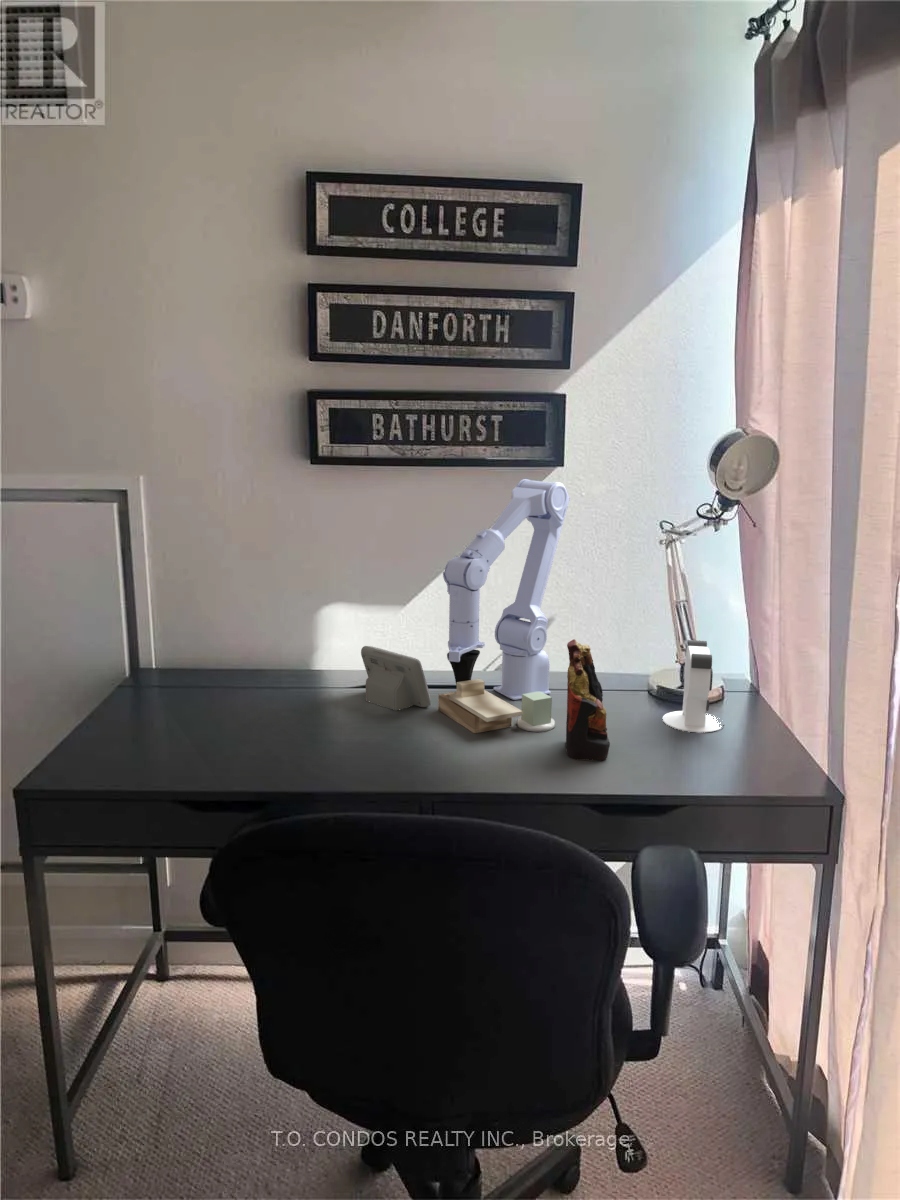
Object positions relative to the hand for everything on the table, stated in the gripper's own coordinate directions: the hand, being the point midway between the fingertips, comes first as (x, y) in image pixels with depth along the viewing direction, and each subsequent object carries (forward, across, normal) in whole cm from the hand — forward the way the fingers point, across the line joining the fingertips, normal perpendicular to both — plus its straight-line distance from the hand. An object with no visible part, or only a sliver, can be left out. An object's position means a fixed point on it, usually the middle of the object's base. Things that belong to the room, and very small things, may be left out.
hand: (463, 687), depth 175 cm
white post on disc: (+5, +7, -44) cm, 44 cm away
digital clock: (+5, +2, +14) cm, 15 cm away
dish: (+5, -3, -15) cm, 16 cm away
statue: (+5, -12, -26) cm, 29 cm away
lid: (+1, -6, -6) cm, 8 cm away
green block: (+4, -3, -15) cm, 16 cm away
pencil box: (+5, -3, -3) cm, 7 cm away
